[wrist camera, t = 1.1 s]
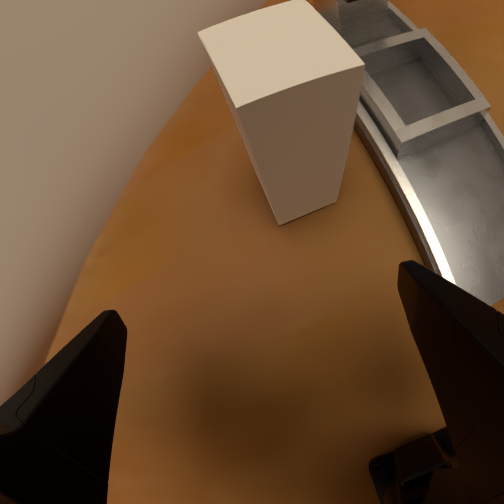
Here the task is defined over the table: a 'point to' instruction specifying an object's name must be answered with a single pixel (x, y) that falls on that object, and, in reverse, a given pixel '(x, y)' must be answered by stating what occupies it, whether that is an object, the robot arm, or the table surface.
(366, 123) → the rail
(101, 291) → the table surface
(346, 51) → the white angular block
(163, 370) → the table surface
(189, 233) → the table surface
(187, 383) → the table surface
